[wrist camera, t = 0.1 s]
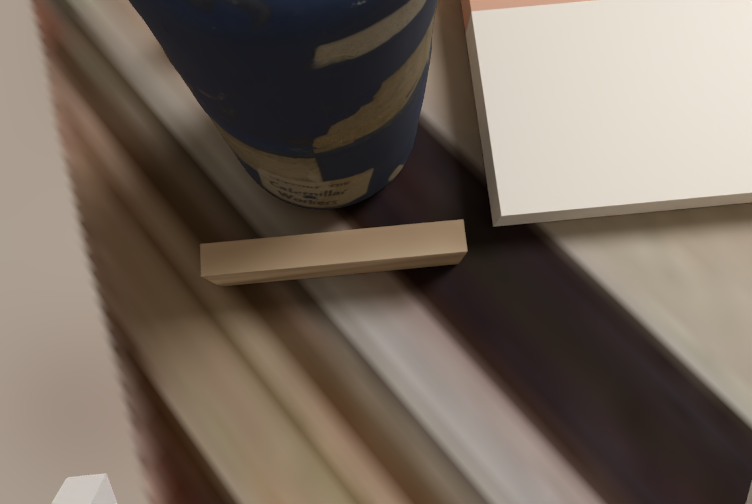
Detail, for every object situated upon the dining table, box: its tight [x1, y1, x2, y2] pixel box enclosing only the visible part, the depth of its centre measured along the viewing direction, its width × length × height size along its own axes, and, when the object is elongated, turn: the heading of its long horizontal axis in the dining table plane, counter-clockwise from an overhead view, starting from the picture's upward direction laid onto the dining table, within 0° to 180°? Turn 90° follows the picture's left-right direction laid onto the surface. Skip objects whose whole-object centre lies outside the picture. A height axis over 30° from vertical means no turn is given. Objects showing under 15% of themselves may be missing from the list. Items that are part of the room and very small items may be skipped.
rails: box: [200, 219, 467, 287], centre depth 28 cm, size 16×12×3 cm
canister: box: [129, 0, 438, 209], centre depth 21 cm, size 10×10×18 cm
